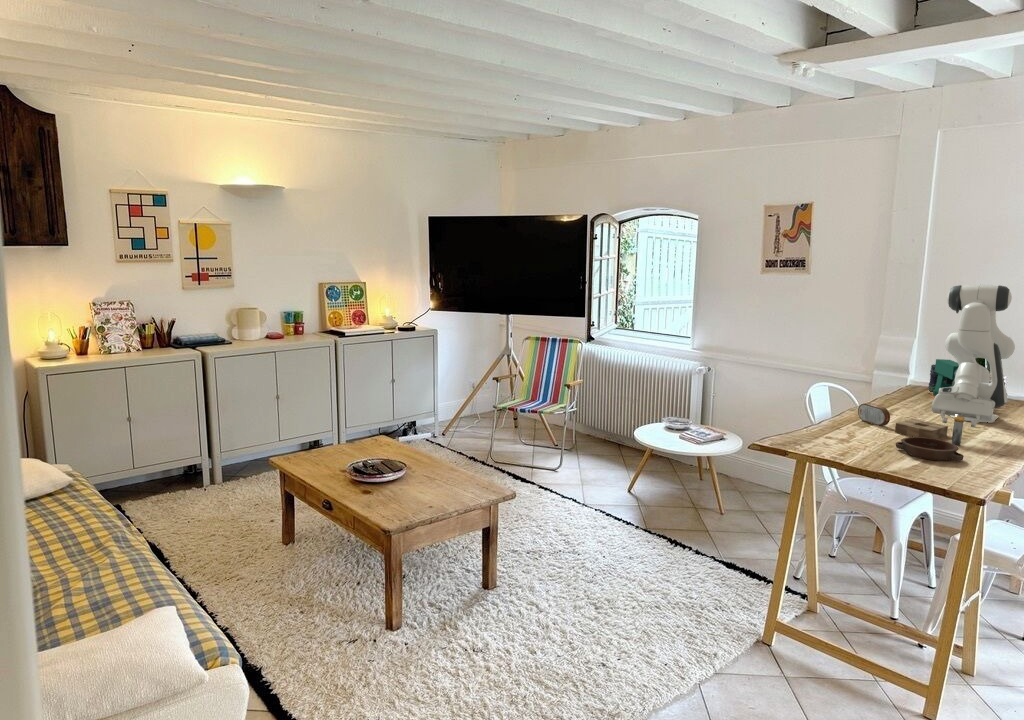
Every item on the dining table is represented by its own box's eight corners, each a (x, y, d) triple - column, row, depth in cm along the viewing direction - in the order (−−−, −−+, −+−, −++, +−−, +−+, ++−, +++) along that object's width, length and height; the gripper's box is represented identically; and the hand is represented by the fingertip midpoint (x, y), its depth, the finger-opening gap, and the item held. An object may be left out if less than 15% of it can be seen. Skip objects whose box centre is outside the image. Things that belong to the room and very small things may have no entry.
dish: (901, 445, 270) (902, 432, 269) (967, 457, 255) (969, 444, 254) (888, 454, 257) (890, 441, 256) (958, 468, 242) (960, 454, 241)
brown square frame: (911, 427, 295) (912, 418, 294) (946, 435, 284) (947, 426, 283) (894, 432, 287) (895, 423, 286) (930, 440, 276) (931, 431, 275)
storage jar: (945, 392, 370) (949, 365, 367) (952, 396, 360) (956, 368, 358) (924, 391, 372) (928, 364, 370) (931, 395, 363) (934, 367, 360)
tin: (889, 427, 295) (891, 408, 294) (884, 428, 294) (886, 408, 293) (861, 419, 309) (863, 400, 308) (855, 419, 308) (857, 401, 306)
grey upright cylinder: (953, 443, 273) (957, 413, 271) (962, 445, 271) (966, 415, 269) (949, 444, 271) (953, 414, 269) (958, 446, 269) (962, 416, 267)
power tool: (973, 412, 326) (978, 370, 323) (956, 411, 328) (962, 369, 324) (945, 397, 357) (950, 359, 354) (930, 397, 358) (935, 358, 355)
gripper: (995, 404, 272) (990, 433, 266) (935, 396, 284) (929, 424, 278) (996, 395, 268) (991, 424, 261) (935, 387, 280) (928, 415, 274)
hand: (958, 424), depth 270 cm, fingers open, 8 cm apart
